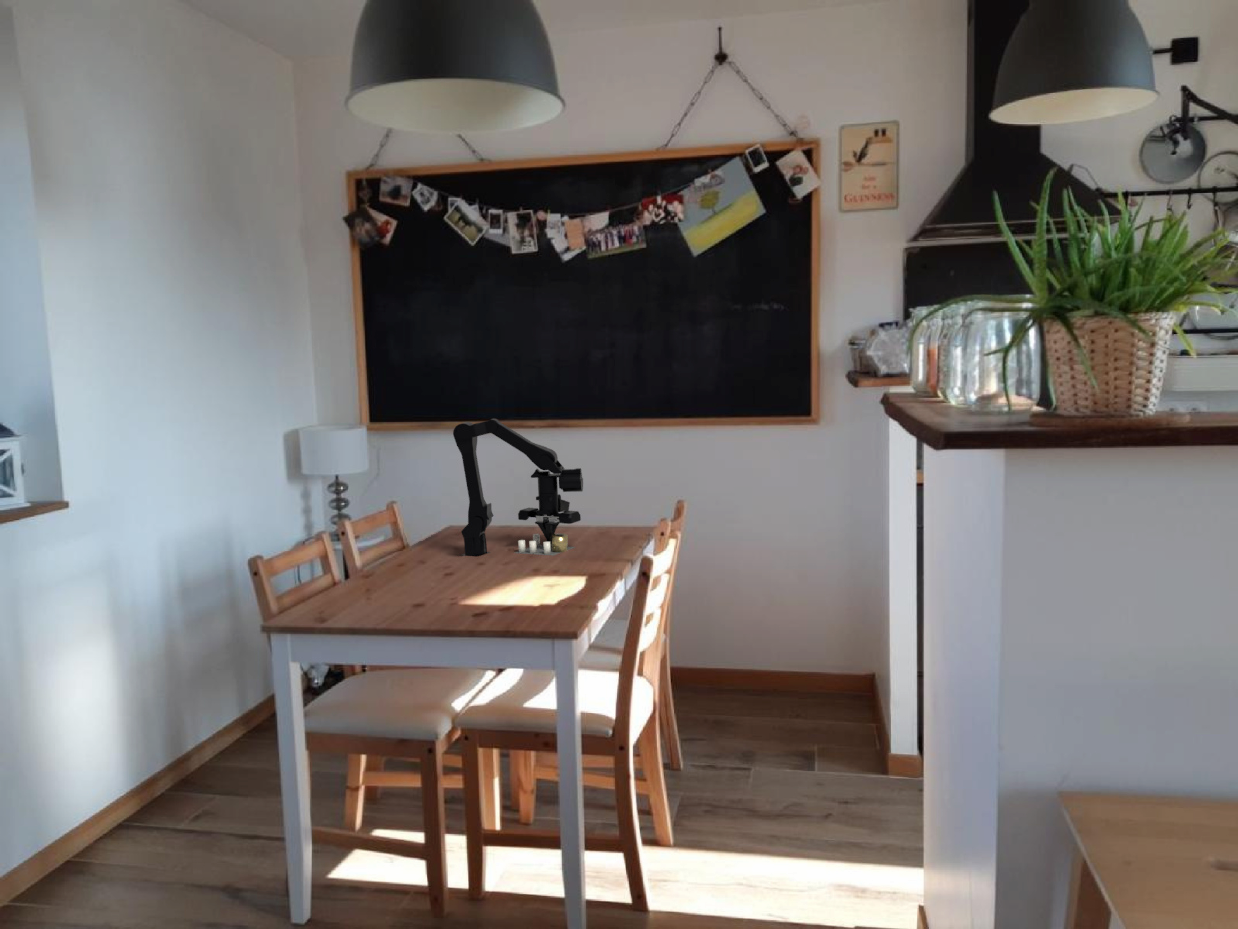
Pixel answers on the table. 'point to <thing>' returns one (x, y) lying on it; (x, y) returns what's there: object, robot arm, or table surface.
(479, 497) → the robot arm
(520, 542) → the spacers
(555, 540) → the knob
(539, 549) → the mat
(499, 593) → the table surface
